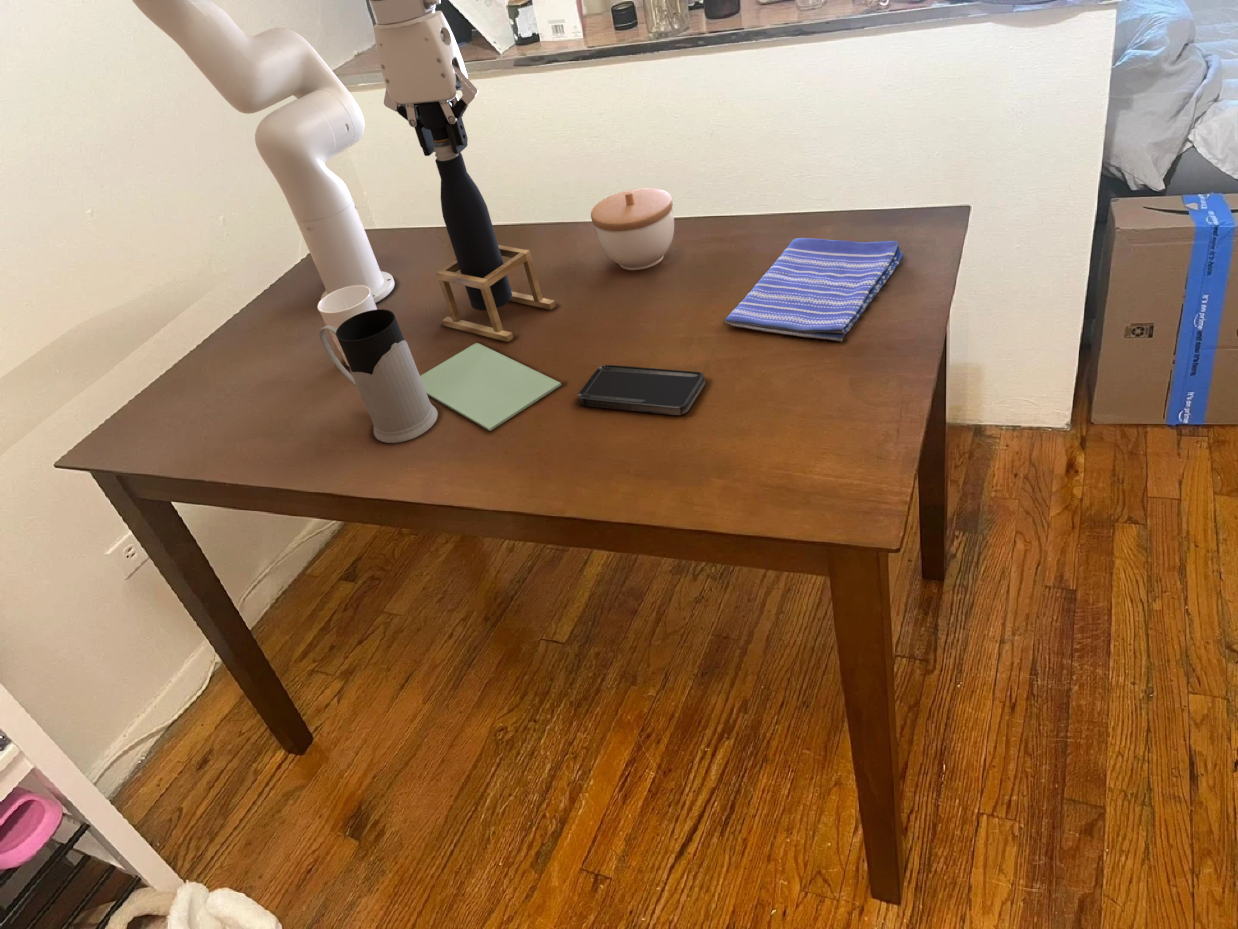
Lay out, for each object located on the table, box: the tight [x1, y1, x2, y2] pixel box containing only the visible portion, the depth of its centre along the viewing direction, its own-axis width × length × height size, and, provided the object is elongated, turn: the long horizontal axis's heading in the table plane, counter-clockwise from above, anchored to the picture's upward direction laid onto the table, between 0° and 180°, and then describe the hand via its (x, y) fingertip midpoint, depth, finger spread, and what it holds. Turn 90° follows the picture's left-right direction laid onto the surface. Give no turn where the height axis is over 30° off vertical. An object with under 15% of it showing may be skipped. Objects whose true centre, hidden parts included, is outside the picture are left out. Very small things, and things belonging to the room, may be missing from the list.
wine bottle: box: [417, 101, 513, 312], centre depth 134 cm, size 6×6×30 cm
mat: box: [420, 342, 562, 432], centre depth 129 cm, size 20×12×1 cm, turn 42°
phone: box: [577, 364, 706, 416], centre depth 119 cm, size 8×1×15 cm
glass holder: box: [318, 308, 439, 444], centre depth 123 cm, size 9×14×15 cm, turn 58°
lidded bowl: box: [590, 187, 675, 271], centre depth 147 cm, size 13×13×11 cm
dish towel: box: [723, 237, 905, 342], centre depth 130 cm, size 17×24×3 cm
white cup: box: [316, 285, 378, 368], centre depth 139 cm, size 8×8×10 cm
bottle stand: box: [435, 244, 557, 343], centre depth 142 cm, size 14×11×9 cm
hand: (446, 149), depth 129 cm, fingers closed on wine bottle, 3 cm apart
